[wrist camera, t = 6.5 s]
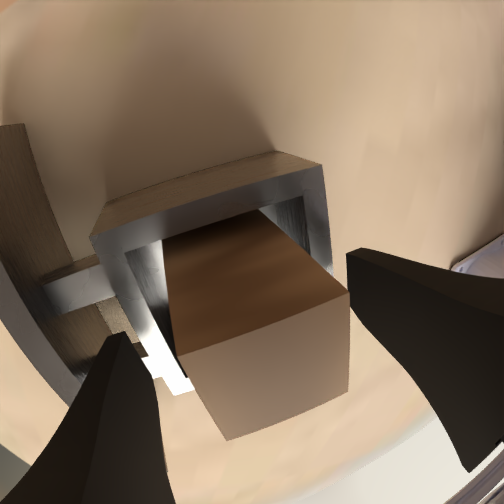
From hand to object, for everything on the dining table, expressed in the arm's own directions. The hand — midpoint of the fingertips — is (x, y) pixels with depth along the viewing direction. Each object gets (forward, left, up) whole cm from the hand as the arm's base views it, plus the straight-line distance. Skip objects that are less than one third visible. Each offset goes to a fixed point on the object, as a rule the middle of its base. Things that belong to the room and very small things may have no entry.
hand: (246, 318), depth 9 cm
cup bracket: (+2, 0, -5) cm, 5 cm away
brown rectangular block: (0, 0, -4) cm, 4 cm away
